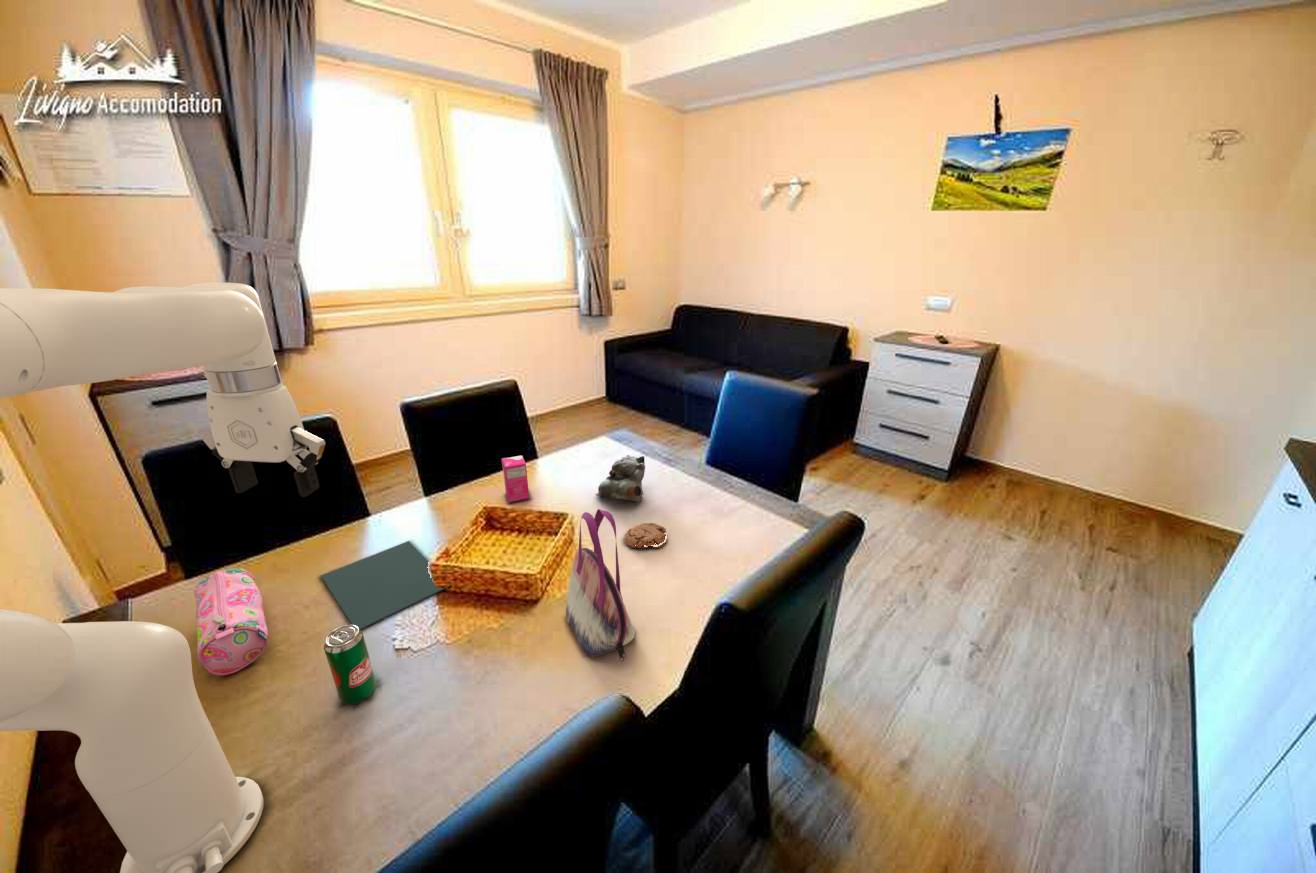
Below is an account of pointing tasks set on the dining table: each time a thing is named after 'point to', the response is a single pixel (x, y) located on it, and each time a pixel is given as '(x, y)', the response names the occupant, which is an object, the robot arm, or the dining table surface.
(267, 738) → the dining table surface
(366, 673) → the soda can
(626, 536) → the cookie
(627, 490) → the lucky cat figurine
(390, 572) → the place mat
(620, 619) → the handbag
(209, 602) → the pencil case
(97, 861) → the dining table surface
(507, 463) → the supplement box
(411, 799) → the dining table surface
